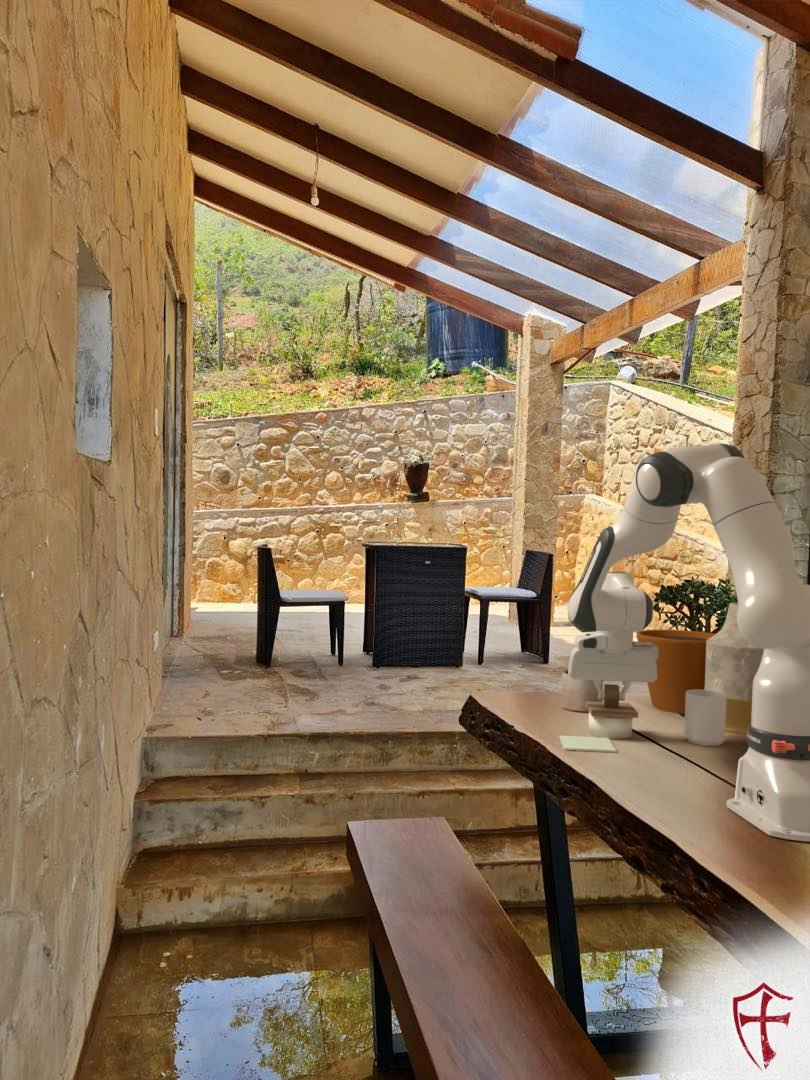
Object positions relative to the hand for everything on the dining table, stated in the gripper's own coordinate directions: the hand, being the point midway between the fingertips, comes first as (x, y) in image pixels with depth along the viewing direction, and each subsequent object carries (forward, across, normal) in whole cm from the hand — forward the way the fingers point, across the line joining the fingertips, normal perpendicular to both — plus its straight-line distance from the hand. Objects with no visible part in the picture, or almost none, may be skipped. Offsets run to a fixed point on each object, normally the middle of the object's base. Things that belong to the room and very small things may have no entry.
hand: (611, 699), depth 199 cm
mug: (+8, -21, +2) cm, 23 cm away
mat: (+8, +7, +12) cm, 16 cm away
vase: (+8, -35, -15) cm, 39 cm away
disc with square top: (+8, 0, 0) cm, 8 cm away
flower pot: (+8, -24, -33) cm, 42 cm away
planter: (+8, +3, -27) cm, 28 cm away
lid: (+3, 0, 0) cm, 3 cm away
